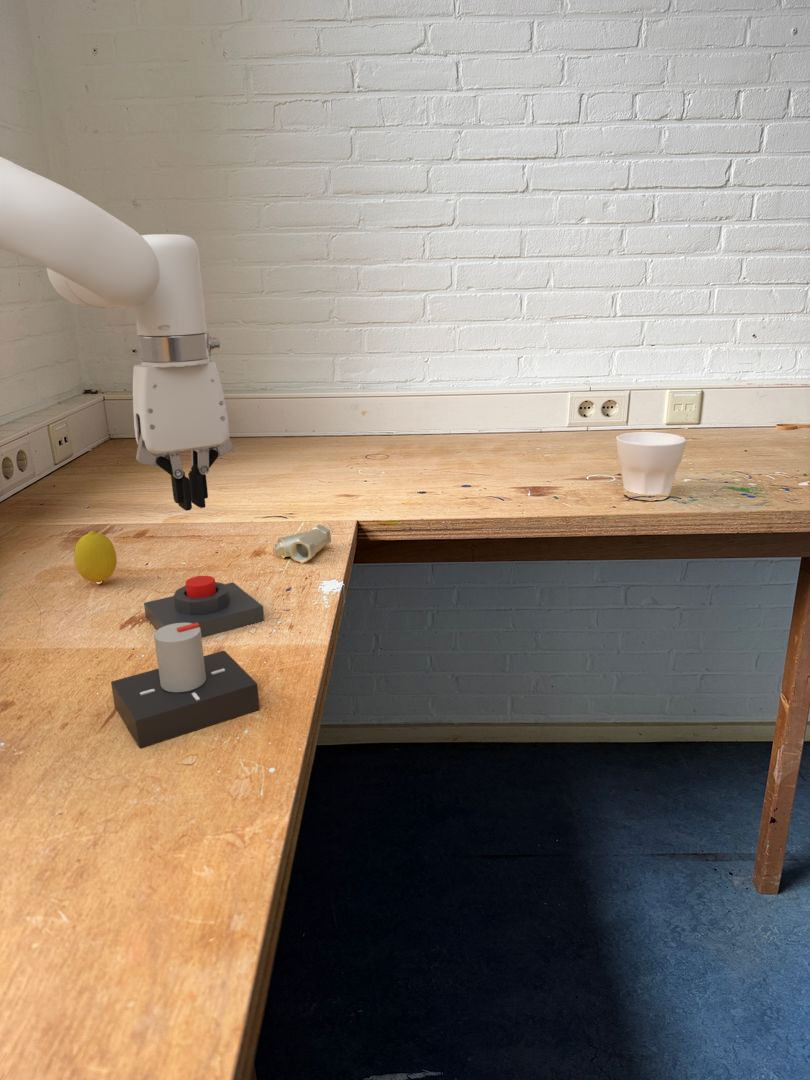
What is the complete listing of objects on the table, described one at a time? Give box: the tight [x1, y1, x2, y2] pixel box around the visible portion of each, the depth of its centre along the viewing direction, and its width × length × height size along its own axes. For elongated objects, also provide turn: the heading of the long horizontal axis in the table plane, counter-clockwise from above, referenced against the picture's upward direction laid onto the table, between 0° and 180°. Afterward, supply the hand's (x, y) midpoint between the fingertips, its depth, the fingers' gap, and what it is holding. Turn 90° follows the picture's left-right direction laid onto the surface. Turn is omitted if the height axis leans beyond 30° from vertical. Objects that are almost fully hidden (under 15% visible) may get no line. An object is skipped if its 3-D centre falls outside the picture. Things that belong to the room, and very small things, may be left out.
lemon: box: [73, 530, 118, 583], centre depth 112 cm, size 6×6×8 cm
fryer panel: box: [110, 650, 260, 749], centre depth 80 cm, size 12×9×3 cm
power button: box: [185, 575, 216, 598], centre depth 100 cm, size 4×4×2 cm
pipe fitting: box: [272, 524, 332, 563], centre depth 123 cm, size 8×4×7 cm
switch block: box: [143, 581, 265, 639], centre depth 100 cm, size 12×10×4 cm
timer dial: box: [153, 623, 206, 693], centre depth 79 cm, size 4×4×6 cm
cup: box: [615, 431, 687, 495], centre depth 150 cm, size 12×12×11 cm
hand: (191, 505), depth 96 cm, fingers closed
